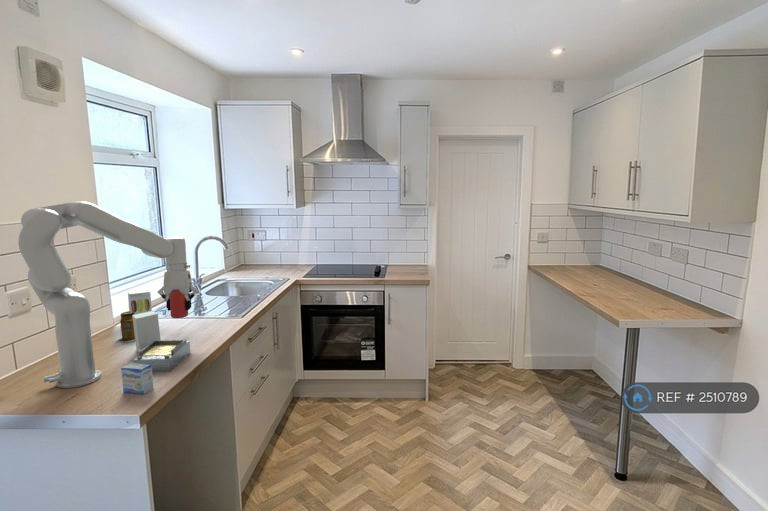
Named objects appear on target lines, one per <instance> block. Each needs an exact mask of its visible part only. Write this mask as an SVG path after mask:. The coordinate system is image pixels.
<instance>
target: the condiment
mask: <svg viewBox="0 0 768 511" xmlns="http://www.w3.org/2000/svg"><path fill="white" fill-rule="evenodd" d="M132 315H135V313H134V312H133V311H129V310H128V311H124V312H122V313H120V319H119V322H120V323H119V324H120V330H121V331H120V332H121V338H119V339H117V340H116V341H114V342H115V343H132V342H135V333H134V325H133V317H132Z"/></svg>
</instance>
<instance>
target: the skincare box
mask: <svg viewBox="0 0 768 511" xmlns="http://www.w3.org/2000/svg"><path fill="white" fill-rule="evenodd" d="M132 317H133V325H134V333H135V340H134V342H135V347H136V349H135V350H136V351H137V352H138V353H139V351H140V350H142V349H143V348H145V347H146V346H147V345H149V344H150V343H152V342H153V341H154V340H162V339H161V332H160V331H161V330H160V322H159V314H158V313H157V312H155V311H154V310H152V311H150V312H146V313H141V314H136V315H132Z"/></svg>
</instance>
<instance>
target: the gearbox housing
mask: <svg viewBox="0 0 768 511" xmlns="http://www.w3.org/2000/svg"><path fill="white" fill-rule="evenodd" d="M190 344H191V343H190V340H187V339H161V340H154V341H153V342H152V343H150V344H149V345H147V346H146V347H145V348H143V349H142V350H140V351H139V352H138V356H137V357H136V358H134V359H133V363H136V364H148V365H152V373H166V372H167V373H170V372H172V371H173V370H174V369H175V368H176V367H177V366H178V365H179V364H180V363H182V361H184V360H185V359H186V358H187V356H189V355H190V354H191V345H190Z"/></svg>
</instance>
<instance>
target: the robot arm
mask: <svg viewBox="0 0 768 511" xmlns="http://www.w3.org/2000/svg"><path fill="white" fill-rule="evenodd" d="M21 215H22V216H21V218H20V222H21V225H22V228H21V230H20V232H19V237H18V241H17V244H18V249H19V252H20V254H21V256H22V257H23V260H24V262H25V263H26V265H27V267H28V269H29V270H28V272H27V279H28V283H30V286H31V288H32V289H33V290H34V292H35V294H36V296H37V297H38V299H39V301H40V302H41V304H42V305H43V307H44V308H45V309H46V310H47V312H49V313H50V314H52V315H54V318H55V319H54V320H55V324H54V325H55V326H54V328H55V331H54V332H55V340H56V345H57V355H58V361H59V368H60V369H58V372H55V373H54V374H49V375H45V376H43V382H44V383H47V382H49V383H50V384H51V383H55V385H56V386H57V387H58V388H61V389H73V388H77V387H81V386H86V385H89V384H91V383H93V382H96V381H98V380H99V379H100V378H101V377H102V371H101V370H99V369H96V365H95V355H94V348H93V347H94V346H93V340H92V339H93V338H92V329H91V305H90V302H89V300H88V298H87V297H86V296H85V295H84V294H82V293H80V292H78V291H75V290H74V289H73V288H72V286H71V283H72V276H71V272H70V271H69V269H68V267H67V266H66V265H65V263H64V261H63V260H62V257H61V256H60V254H59V253H58V249H57V248H56V245H55V237H56V236H57V234H58V232H59V231H60V230H63V229H68V228H72V227H77V226H78V227H79V226H80V227H82V228H84V229H87V230H88V231H91V232H94V233H96V234H97V235H100V236H102V237H104V238H107V239H109V240H111V241H112V242H113V241H114V242H116V243H119V244H124V245H128V246H131V247H133V248H137V249H140V250H141V252H142V253H143V254H144V255H146V256H148V257H152V258H158V259H165V267H166V269H165V271H164V275H163V283H162V284H163V286H162V287H160V289H159V290H158V291H157V294H158V295H159V296H161V298H163V300H164V301H165V303H166V304H165V305H166V309H167V312H169V311H170V297H169V295H170V293H171V292H172V290H179V291H180V292H181V293H182V294H183V295H185V298H186V301H185V304H186V310H188V311H189V310H191V308H192V299H193V298H194V297H195V296H196V295H197V294H198V292H199V290H198V289H197V288H196V287H194V285H193V280H192V275H191V271H190V269H188V268H191V264H190V263H189V264H188V262H187V251H186V240H185V238H184V237H182V236H170V237H163V236H161V235H159V234H158V233H156V232H153V231H152V230H149V229H146V228H143V227H142V226H139V225H137V224H135V223H134V222H130V221H129V220H127V219H124V218H122V217H120V216H118V215H117V214H114V213H112V212H110V211H109V210H106V209H104V208H102V207H100V206H98V205H96V204H94V203H91V202H89V201H78V200H77V201H71V202H66V203H61V204H59V203H58V204H53V205H47V206H41V207H35V208H30V209H27V210H26V211H24V212H23V214H21Z"/></svg>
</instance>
